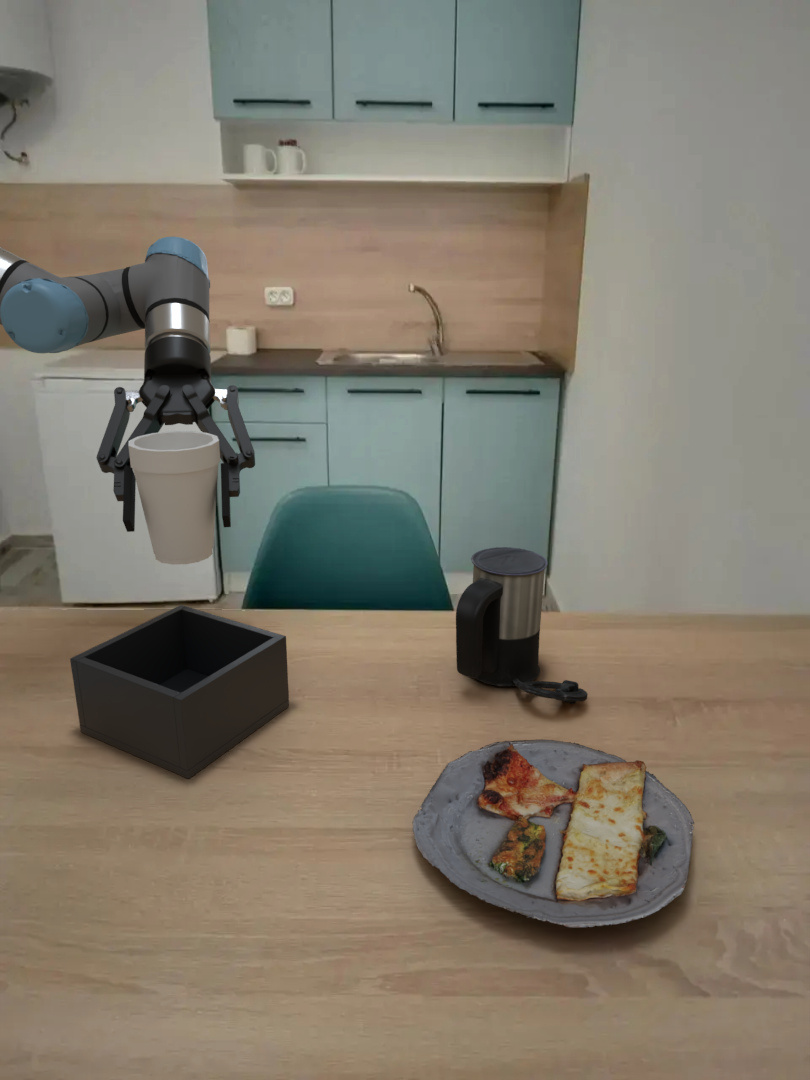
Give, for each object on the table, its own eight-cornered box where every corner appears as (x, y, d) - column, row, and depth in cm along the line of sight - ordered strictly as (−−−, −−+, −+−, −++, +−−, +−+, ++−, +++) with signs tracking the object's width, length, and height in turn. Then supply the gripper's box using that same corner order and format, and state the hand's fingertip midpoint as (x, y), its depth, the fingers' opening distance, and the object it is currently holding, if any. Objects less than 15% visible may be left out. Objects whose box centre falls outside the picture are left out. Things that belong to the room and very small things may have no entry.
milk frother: (477, 647, 109) (482, 541, 104) (598, 668, 104) (609, 558, 99) (444, 700, 97) (447, 583, 92) (580, 727, 92) (591, 604, 86)
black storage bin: (80, 732, 90) (69, 658, 87) (187, 670, 103) (181, 604, 100) (188, 779, 82) (180, 700, 79) (289, 706, 95) (286, 635, 92)
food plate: (473, 735, 90) (474, 707, 89) (698, 787, 81) (703, 757, 80) (378, 893, 68) (378, 858, 67) (673, 986, 60) (678, 948, 59)
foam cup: (242, 555, 93) (235, 442, 88) (166, 577, 87) (154, 456, 82) (199, 534, 99) (190, 427, 95) (125, 552, 93) (112, 439, 89)
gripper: (273, 371, 103) (282, 534, 94) (86, 374, 99) (77, 543, 90) (272, 332, 96) (282, 503, 87) (71, 333, 92) (60, 512, 83)
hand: (178, 523), depth 88 cm, fingers closed on foam cup, 9 cm apart
